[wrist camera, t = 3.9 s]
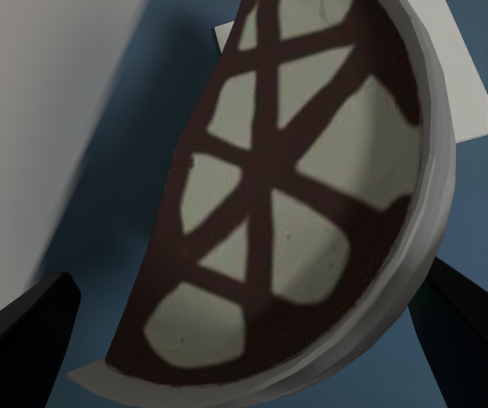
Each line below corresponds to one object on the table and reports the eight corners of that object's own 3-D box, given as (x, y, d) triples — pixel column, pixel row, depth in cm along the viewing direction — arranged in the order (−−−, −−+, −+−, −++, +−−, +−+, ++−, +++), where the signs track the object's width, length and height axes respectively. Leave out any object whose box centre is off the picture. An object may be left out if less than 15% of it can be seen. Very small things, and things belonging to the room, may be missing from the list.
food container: (369, 402, 14) (333, 637, 5) (239, 334, 16) (55, 400, 7) (459, 120, 15) (577, -142, 6) (322, 99, 17) (249, -102, 8)
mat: (497, 132, 17) (502, 129, 16) (260, 196, 17) (259, 195, 17) (425, -33, 19) (427, -39, 18) (215, 32, 19) (214, 27, 19)
